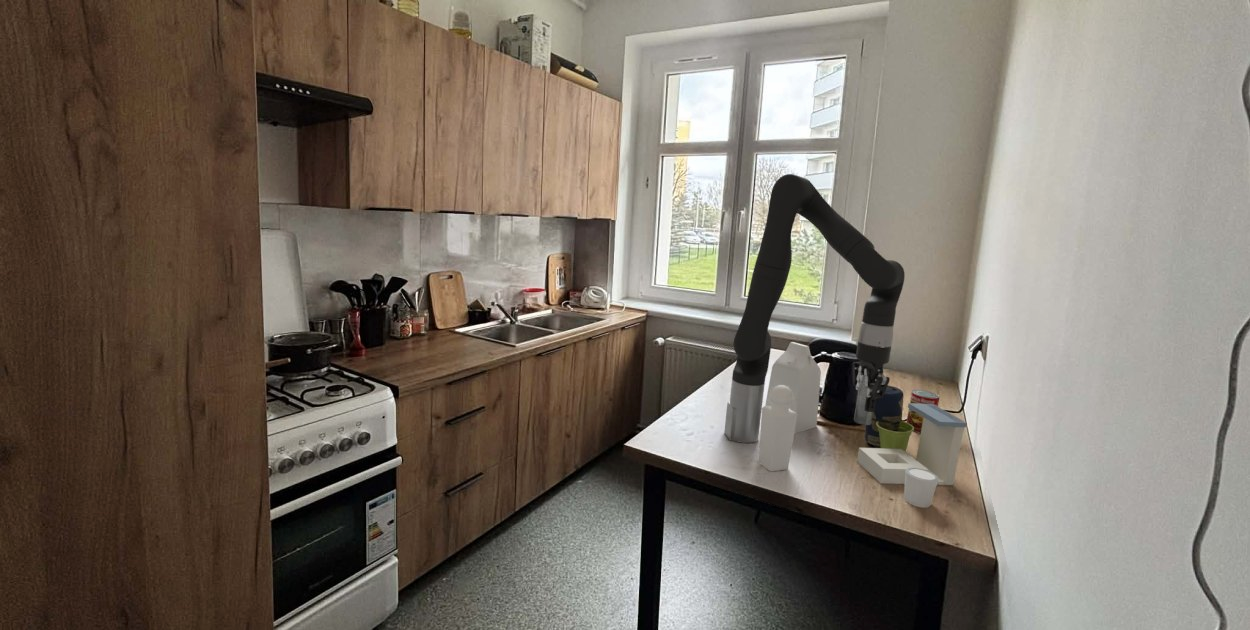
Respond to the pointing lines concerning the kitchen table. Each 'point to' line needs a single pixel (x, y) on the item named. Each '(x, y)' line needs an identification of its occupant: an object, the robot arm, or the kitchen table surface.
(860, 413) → the peg
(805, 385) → the milk
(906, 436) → the plant pot
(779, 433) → the white square bottle
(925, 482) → the white tapered cup
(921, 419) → the canned food
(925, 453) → the socket station
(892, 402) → the canister
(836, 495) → the kitchen table surface
